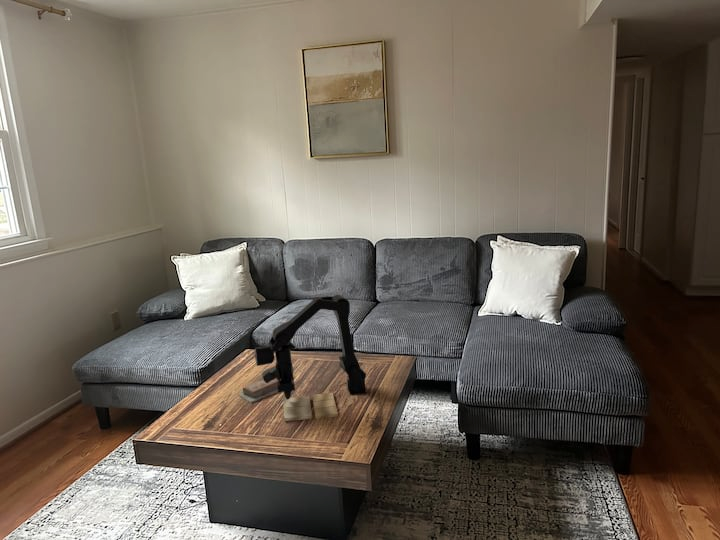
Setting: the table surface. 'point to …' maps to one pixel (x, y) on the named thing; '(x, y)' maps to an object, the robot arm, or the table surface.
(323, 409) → the laid board
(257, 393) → the packaged product
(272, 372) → the robot arm
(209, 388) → the table surface
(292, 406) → the beige grooved panel
